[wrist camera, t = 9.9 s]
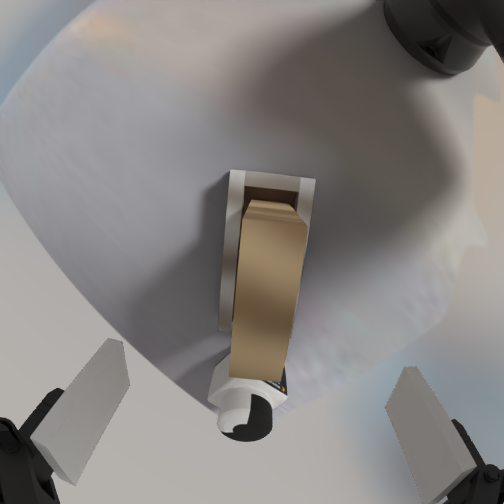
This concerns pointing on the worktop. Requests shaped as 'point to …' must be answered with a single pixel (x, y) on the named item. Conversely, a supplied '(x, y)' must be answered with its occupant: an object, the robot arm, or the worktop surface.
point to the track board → (239, 198)
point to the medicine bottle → (244, 403)
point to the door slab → (266, 289)
